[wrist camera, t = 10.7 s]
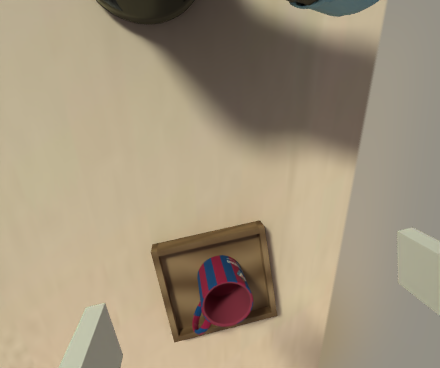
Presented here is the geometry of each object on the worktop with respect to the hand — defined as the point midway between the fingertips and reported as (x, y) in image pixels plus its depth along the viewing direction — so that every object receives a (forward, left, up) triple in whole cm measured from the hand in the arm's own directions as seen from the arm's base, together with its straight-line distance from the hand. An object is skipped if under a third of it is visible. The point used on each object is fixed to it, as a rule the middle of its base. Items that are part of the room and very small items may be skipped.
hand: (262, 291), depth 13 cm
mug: (+17, -2, -28) cm, 32 cm away
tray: (+17, -1, -28) cm, 33 cm away
